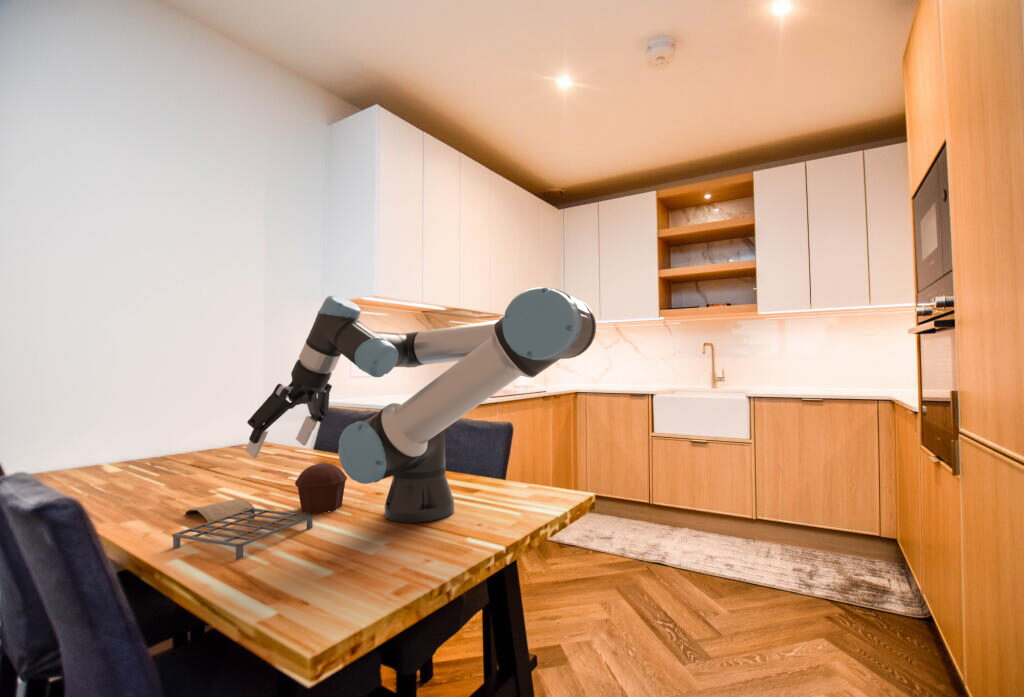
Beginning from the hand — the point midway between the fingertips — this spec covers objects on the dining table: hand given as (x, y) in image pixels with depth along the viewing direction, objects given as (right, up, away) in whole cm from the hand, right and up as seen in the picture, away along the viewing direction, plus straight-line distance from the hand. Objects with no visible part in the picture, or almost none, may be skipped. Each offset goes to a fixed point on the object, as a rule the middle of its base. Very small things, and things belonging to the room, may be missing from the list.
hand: (277, 447), depth 107 cm
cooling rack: (0, -15, -13) cm, 19 cm away
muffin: (+8, -15, +6) cm, 18 cm away
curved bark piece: (-15, -16, +4) cm, 22 cm away
